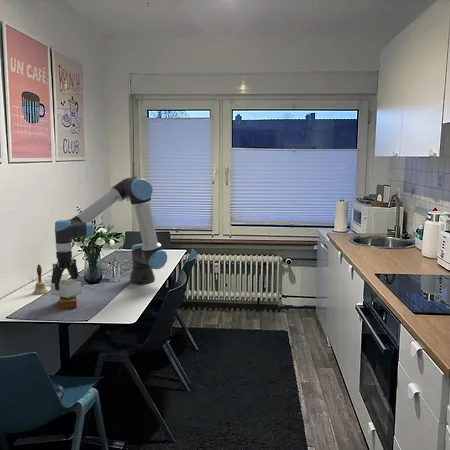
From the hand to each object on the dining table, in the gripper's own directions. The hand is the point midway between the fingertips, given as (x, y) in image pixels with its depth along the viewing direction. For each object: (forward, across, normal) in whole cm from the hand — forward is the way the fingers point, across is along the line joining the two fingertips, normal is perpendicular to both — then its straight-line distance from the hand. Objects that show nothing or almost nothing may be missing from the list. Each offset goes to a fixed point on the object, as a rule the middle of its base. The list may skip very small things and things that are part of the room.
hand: (66, 293), depth 234 cm
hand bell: (+6, -9, -29) cm, 31 cm away
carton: (+6, -1, 0) cm, 6 cm away
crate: (0, 0, 0) cm, 0 cm away
